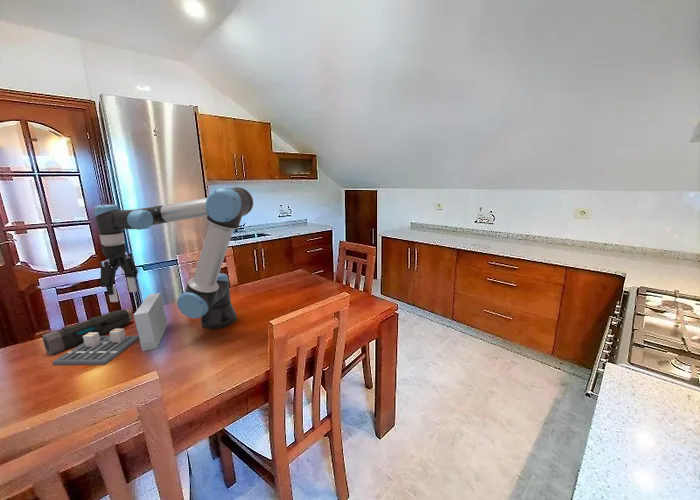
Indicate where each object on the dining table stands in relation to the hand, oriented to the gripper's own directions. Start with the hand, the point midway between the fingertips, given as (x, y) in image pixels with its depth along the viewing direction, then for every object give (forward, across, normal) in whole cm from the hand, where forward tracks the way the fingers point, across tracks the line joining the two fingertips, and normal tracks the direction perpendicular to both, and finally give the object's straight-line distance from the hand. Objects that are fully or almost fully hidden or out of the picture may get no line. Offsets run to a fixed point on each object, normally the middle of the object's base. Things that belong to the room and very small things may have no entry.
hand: (124, 296), depth 124 cm
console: (+18, +12, -4) cm, 22 cm away
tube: (+18, +1, -15) cm, 23 cm away
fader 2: (+16, +7, 0) cm, 18 cm away
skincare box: (+18, +2, +11) cm, 21 cm away
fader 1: (+16, +10, -8) cm, 21 cm away
